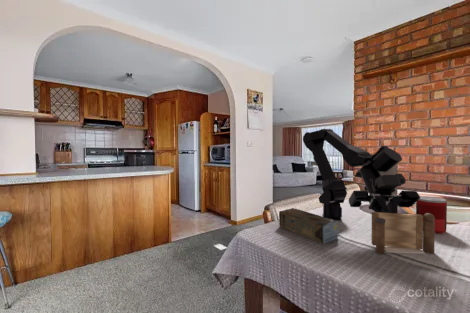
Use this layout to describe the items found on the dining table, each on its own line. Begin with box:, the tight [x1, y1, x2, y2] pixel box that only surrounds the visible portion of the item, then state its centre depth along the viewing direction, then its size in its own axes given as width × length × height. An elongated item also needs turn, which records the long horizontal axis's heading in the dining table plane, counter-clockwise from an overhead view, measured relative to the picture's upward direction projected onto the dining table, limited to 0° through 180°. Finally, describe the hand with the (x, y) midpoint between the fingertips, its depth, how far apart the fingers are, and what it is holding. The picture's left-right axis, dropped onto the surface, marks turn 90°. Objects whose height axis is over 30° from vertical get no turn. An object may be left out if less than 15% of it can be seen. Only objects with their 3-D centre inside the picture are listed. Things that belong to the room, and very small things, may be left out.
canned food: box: [415, 195, 448, 235], centre depth 77 cm, size 8×8×11 cm
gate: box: [371, 211, 423, 250], centre depth 63 cm, size 12×1×9 cm, turn 75°
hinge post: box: [422, 213, 436, 255], centre depth 61 cm, size 2×2×11 cm
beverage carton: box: [278, 207, 339, 244], centre depth 77 cm, size 8×19×7 cm, turn 33°
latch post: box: [375, 218, 386, 255], centre depth 61 cm, size 2×2×9 cm
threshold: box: [385, 246, 425, 255], centre depth 62 cm, size 10×3×1 cm, turn 84°
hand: (395, 224), depth 64 cm, fingers closed
